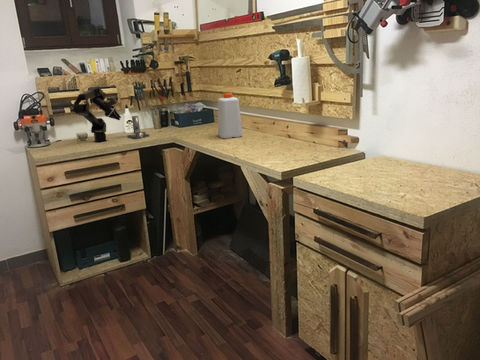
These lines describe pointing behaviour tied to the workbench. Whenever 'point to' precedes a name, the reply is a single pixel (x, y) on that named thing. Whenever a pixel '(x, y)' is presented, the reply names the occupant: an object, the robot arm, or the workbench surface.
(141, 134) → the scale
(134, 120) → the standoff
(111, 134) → the workbench surface
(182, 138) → the workbench surface
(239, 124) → the plastic bottle
